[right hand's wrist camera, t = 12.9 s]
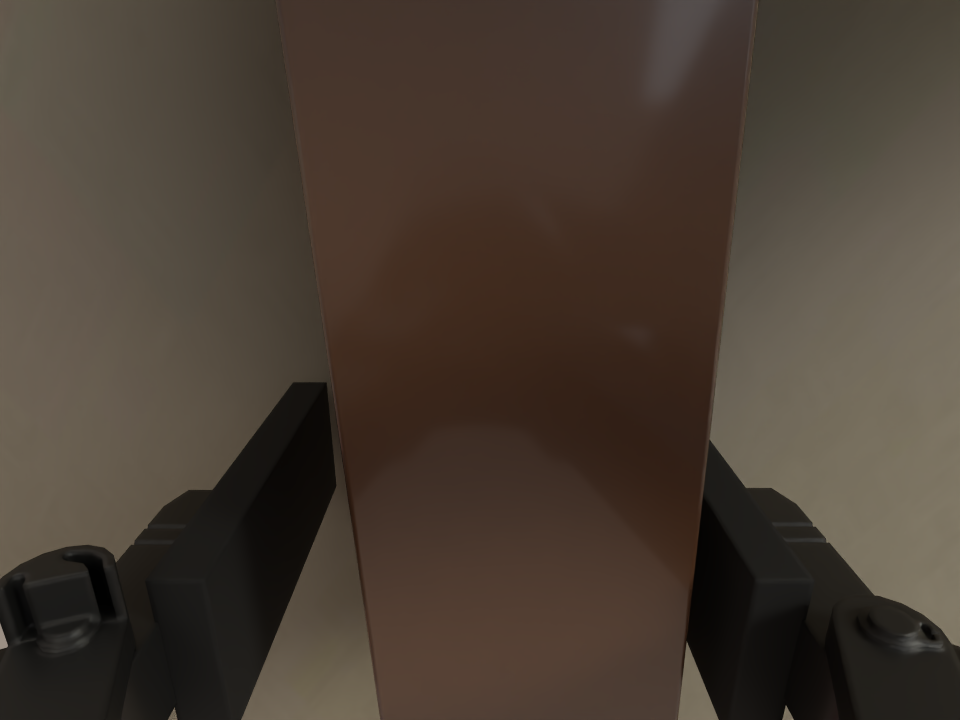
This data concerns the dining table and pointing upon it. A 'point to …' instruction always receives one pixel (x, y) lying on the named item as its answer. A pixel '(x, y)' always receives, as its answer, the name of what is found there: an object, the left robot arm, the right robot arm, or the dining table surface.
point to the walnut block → (522, 331)
